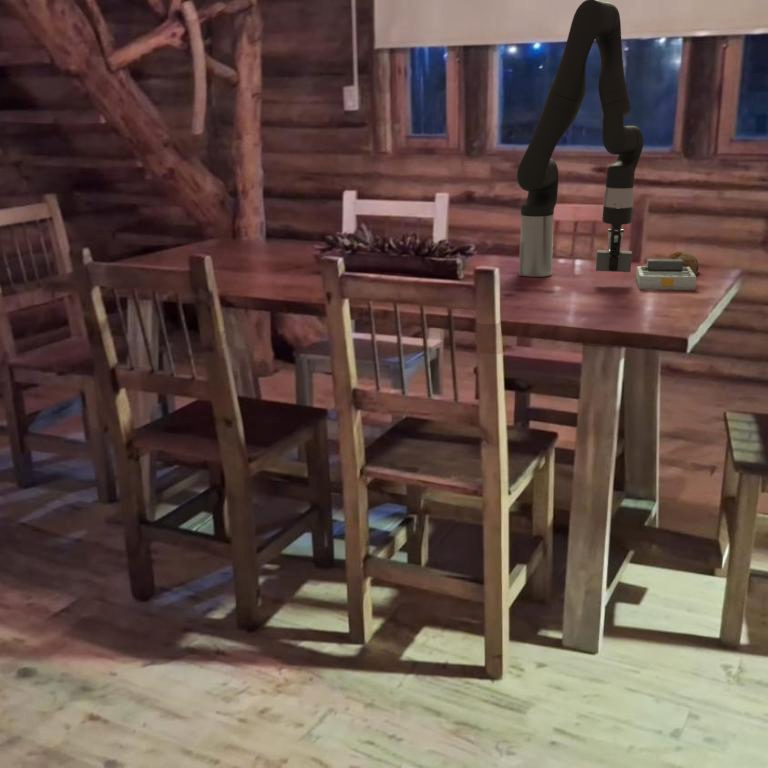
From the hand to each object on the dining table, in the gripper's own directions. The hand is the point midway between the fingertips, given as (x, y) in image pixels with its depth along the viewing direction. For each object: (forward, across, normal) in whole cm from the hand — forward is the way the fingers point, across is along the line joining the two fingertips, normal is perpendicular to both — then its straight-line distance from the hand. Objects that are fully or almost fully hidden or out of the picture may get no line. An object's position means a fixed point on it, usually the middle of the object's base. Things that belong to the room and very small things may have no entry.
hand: (612, 268), depth 236 cm
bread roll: (+5, -20, +19) cm, 28 cm away
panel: (0, 0, 0) cm, 0 cm away
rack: (+4, -2, +14) cm, 15 cm away
